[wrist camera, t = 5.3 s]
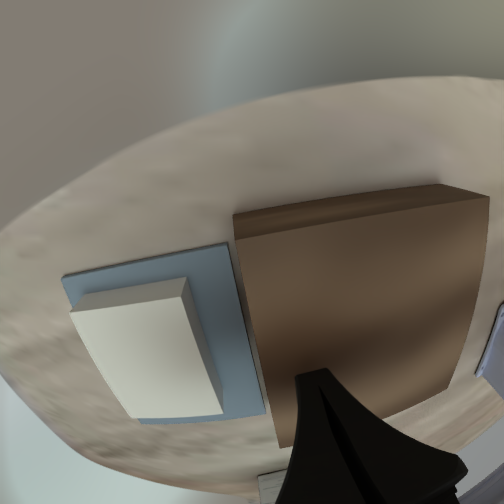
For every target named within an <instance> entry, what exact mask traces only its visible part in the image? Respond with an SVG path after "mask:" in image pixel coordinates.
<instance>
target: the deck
mask: <svg viewBox="0 0 504 504" xmlns="http://www.w3.org/2000/svg"><path fill="white" fill-rule="evenodd" d="M489 201H490V197H489V196H485V195H482V194H478V193H475V192H471V191H467V190H464V189H460V188H456V187H452V186H448V185H443V184H434V185H425V186H416V187H407V188H399V189H390V190H383V191H375V192H367V193H360V194H353V195H346V196H339V197H333V198H326V199H320V200H313V201H307V202H301V203H295V204H289V205H283V206H277V207H272V208H266V209H260V210H255V211H249V212H244V213H239V214H234V215H233V225H234V236H235V243H236V248H237V253H238V258H239V263H240V268H241V273H242V278H243V283H244V287H245V292H246V297H247V302H248V307H249V311H250V316H251V321H252V326H253V330H254V335H255V340H256V344H257V349H258V354H259V358H260V363H261V368H262V372H263V377H264V381H265V386H266V390H267V395H268V399H269V404H270V408H271V413H272V417H273V421H274V426H275V430H276V434H277V439H278V443H279V447H280V448H285V447H290V446H293V445H294V439H295V432H296V425H297V412H298V405H297V398H296V388H295V379H294V377H295V376H296V375H297V374H302V373H306V372H310V371H314V370H318V369H322V368H328V369H329V370H330V371H331V373H332V374H333V375H334V376H335V377H336V379H337V380H338V381H339V382H340V383H341V384H342V385H343V386H344V387H345V388H346V389H347V390H348V391H349V392H350V393H351V394H352V395H353V396H354V397H355V398H356V399H357V400H358V401H359V402H360V403H361V404H362V405H364V406H365V407H366V408H367V409H368V410H370V411H371V412H372V413H373V414H375V415H376V416H377V417H379V418H380V419H381V420H382V419H384V418H387V417H389V416H391V415H394V414H396V413H399V412H401V411H403V410H405V409H408V408H410V407H412V406H414V405H416V404H418V403H420V402H423V401H425V400H427V399H429V398H431V397H432V396H434V395H436V394H438V393H440V392H442V391H444V390H446V389H447V388H448V386H449V383H450V381H451V378H452V376H453V373H454V371H455V368H456V366H457V363H458V360H459V358H460V355H461V352H462V349H463V346H464V343H465V340H466V337H467V334H468V330H469V327H470V323H471V320H472V316H473V312H474V309H475V304H476V300H477V296H478V291H479V287H480V281H481V276H482V271H483V264H484V258H485V251H486V243H487V233H488V221H489Z"/></svg>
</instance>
